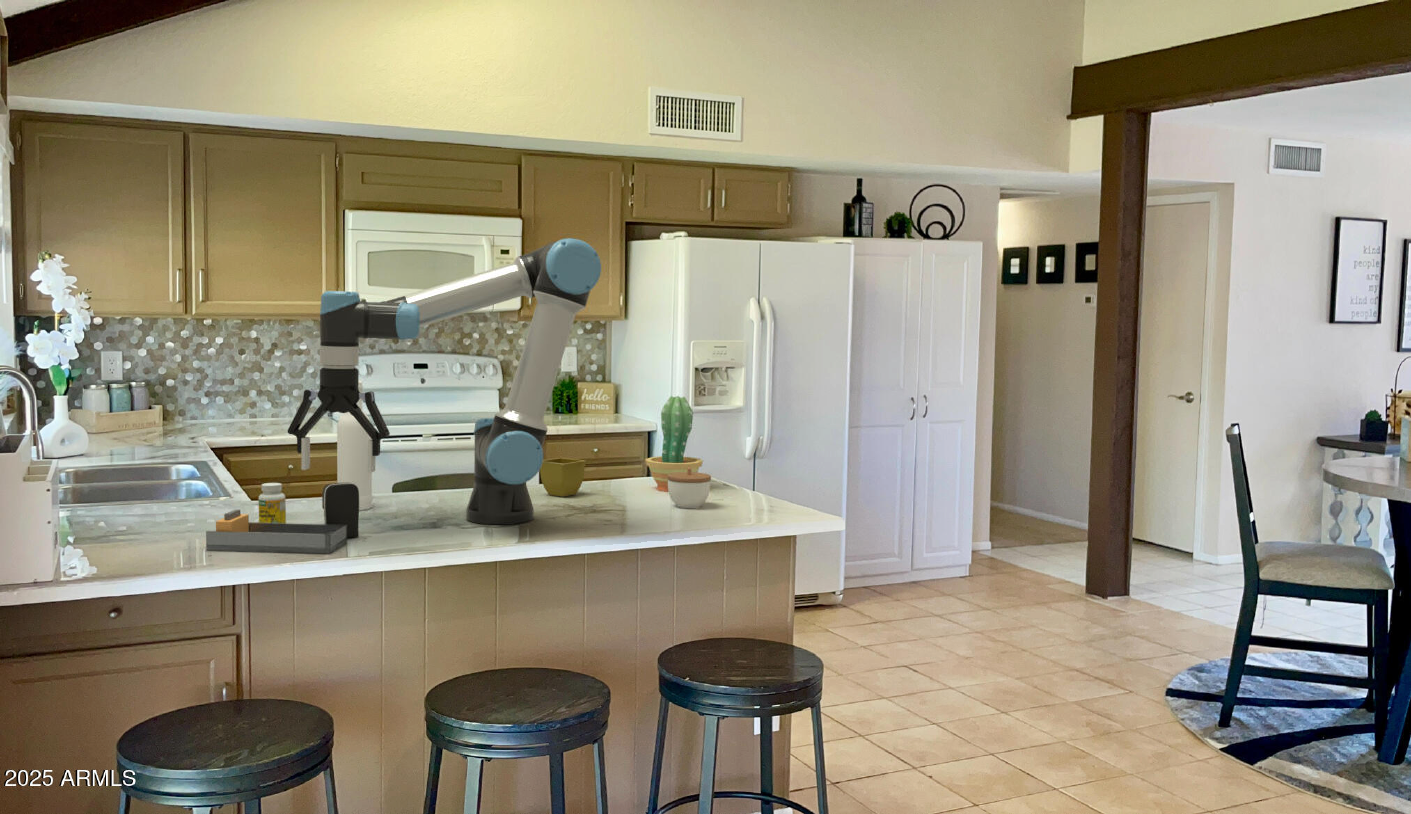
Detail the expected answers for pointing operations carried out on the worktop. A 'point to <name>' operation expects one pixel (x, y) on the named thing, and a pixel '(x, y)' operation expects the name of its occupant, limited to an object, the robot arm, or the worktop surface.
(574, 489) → the flower pot
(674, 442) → the potted cactus
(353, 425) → the bottle
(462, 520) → the worktop surface
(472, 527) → the worktop surface
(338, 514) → the battery charger
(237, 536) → the tray
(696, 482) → the lidded jar
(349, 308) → the robot arm
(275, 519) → the supplement bottle
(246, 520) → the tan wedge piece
